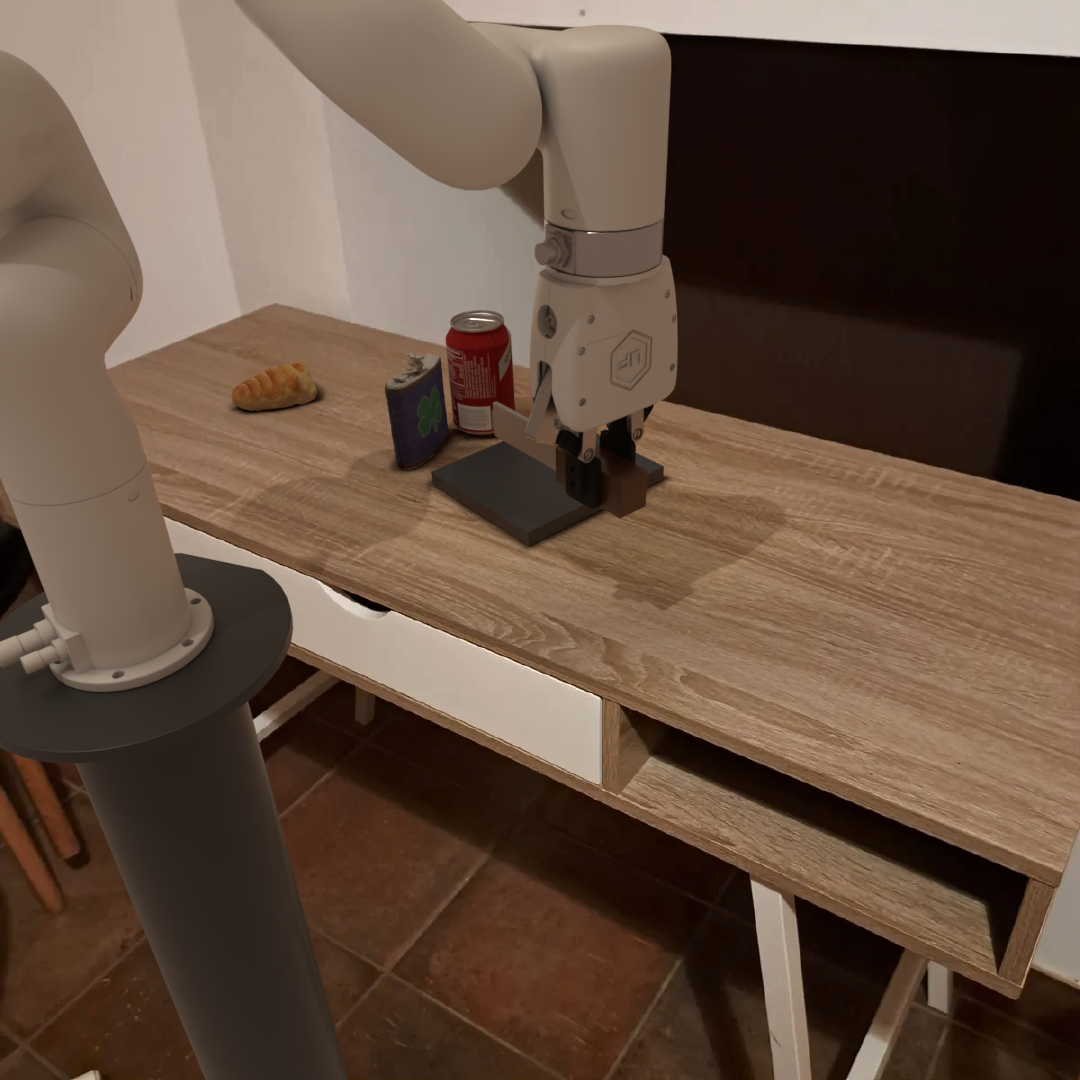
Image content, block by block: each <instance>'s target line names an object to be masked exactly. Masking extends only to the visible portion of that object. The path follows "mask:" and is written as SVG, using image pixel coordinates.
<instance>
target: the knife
mask: <svg viewBox="0 0 1080 1080" xmlns="http://www.w3.org/2000/svg"><path fill="white" fill-rule="evenodd" d="M493 415H494V434H493V435H494V437H495V438H498V439H500V440H501V441H505V442H507V443H508V444H510V445H512V446H514V447H515V448H517V449H519V450H521V451H522V452H524V453H526V454H528V455H529V456H531V457H533V458H535V459H536V460H538V461H540V462H542V463H543V464H545V465H547V466H549V467H551V468H552V469H554V470H556V482H557V483H559V484H561V485H563V486H564V487H566V486H565V452H564V451H562V450H560V449H559V448H558V447H557V446H556V445H555V446H552V445H546V444H540V443H537V442H536V441H534V440H532V439H530V438H528V437H527V436H526V435H525V429H526V426H527V423H528V420H529V417H527V416H525V415H524V414H522V413H520V412H518V411H516V410H515V411H514V410H512V409H510V408H508V407H506V406H505V405H503V404H501V403H499V402H497V401H496V402H493ZM578 438H579V437H578ZM595 457H597V458H599V459H600V460H601V463H602V471H601V502H600V506H599V507H601V508H602V509H603V510H604V511H605V512H607V513H609V514H611V515H613V516H614V517H616V518H618V519H624V518H625V517H627V516H628V515H631V514H633V513H634V512H637V511H640V510H641V509H643V508H645V507H646V506H647V493H648V490H647V489H648V487H647V470H646V469H644V468H642V467H640V466H638V465H637V464H635V463H633V462H631V461H629V460H627V459H625V458H623V457H621V456H619V455H617V454H615V453H613V452H611V451H610V450H608V449H606V448H604V447H602V446H600V445H598V444H596V450H595Z"/></svg>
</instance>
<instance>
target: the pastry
mask: <svg viewBox="0 0 1080 1080" xmlns="http://www.w3.org/2000/svg"><path fill="white" fill-rule="evenodd" d="M316 386H317V385H316V383H315V381H314V378H313V377H312V375H311V373H310V369H309V367H308V365H307V363H305V361H303V360H301V361H300V360H295V361H294V362H293V363H287V364H279V365H276V366H269V367H267V368H265V369H264V371H261V372H259V373H258V374H256V375H255V376H250V377H247V378H246V379H245V380H244V381H242V382H241V383H239V384H237V385H235V386H234V388H233V389H232V391H231V402H232V404H233V405H234V406H236V407H237V408H240V409H242V410H246V411H250V412H253V411H256V412H261V411H263V410H270V411H271V410H275V409H284V408H289V407H293V406H294V405H304V404H307V403H310V402H312V401H313V400H315V399H316V396H317V395H318V389H317V387H316Z"/></svg>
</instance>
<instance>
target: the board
mask: <svg viewBox="0 0 1080 1080" xmlns="http://www.w3.org/2000/svg"><path fill="white" fill-rule="evenodd" d="M555 424H557V425H558V417H556V420H555ZM575 435H576V436H577V437H579V432H576V431H575ZM600 435H601V434H599V433H597V434H596V444H598V445H600ZM635 464H637V465H638V466H640V467H642V468H644V469H646V470H647V488H650V487H651V486H653V485H655V484H657V483H659V482H661V481H663V480H664V477H665V474H664V473H665V466H664V465H662V464H661V463H658V462H656V461H655V460H652V459H650V458H648V457H646V456H645V455H641V454H640V453H638V452H636V460H635ZM430 476H431V484H432V485H433V486H434V487H436V488H437V489H439V490H441V491H442V492H443V493H445V494H447V495H448V496H450V497H451V498H452V499H455V500H456V501H458V502H459V503H461V504H462V505H464V506H465V507H467V508H468V509H470V510H472V511H473V512H475V513H476V514H478V515H479V516H481V517H482V518H484V519H486V520H487V521H489V522H490V523H492V524H494V525H495V526H497V527H498V528H500V529H502V530H503V531H504V532H507V533H508V534H509V535H511V536H512V537H514V538H516V539H517V540H518V541H520V542H522V543H523V544H525V545H527V546H528V547H530V546H533V545H534V544H536V543H539V542H540V541H542V540H545V539H547V538H548V537H550V536H552V535H555V534H556V533H558V532H561V531H563V530H564V529H567V528H569V527H570V526H572V525H575V524H577V523H579V522H580V521H583V520H585V519H587V518H589V517H591V516H593V515H595V514H597V513H599V512H601V511H603V510H604V509H602V508H601V507H597V508H595V509H590V508H589V507H587V506H585V505H583V504H582V503H580V502H578V501H577V500H575V499H573V498H571V497H570V496H568V495H567V493H566V487H564V486H563V485H561V484H559V483H557V482H556V470H554V469H552V468H551V467H549V466H547V465H545V464H543V463H542V462H540V461H538V460H536V459H535V458H533V457H531V456H529V455H528V454H526V453H524V452H522V451H521V450H519V449H517V448H515V447H514V446H512V445H510V444H508V443H507V442H505V441H503V440H501V441H500V442H497V443H495V444H493V445H490V446H488V447H485V448H483V449H481V450H478V451H475V452H474V453H472V454H469V455H467V456H464V457H462V458H459V459H458V460H454V461H452V462H450V463H447V464H445V465H443V466H440V467H438V468H435V469H433V470H431V471H430Z"/></svg>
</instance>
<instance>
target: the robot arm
mask: <svg viewBox="0 0 1080 1080" xmlns="http://www.w3.org/2000/svg"><path fill="white" fill-rule="evenodd" d="M231 1H232V2H233V4H234V6H235V7H236V8H237V9H238V10H239V11H240V13H241V14H242V16H244V18H245V19H247V21H248V22H249V23H250V24H251V25H252V26H254V27H255V28H256V29H257V30H258V31H259V32H260V34H262V35H263V37H265V38H266V39H267V40H268V41H269V42H270V43H271V44H272V45H273V46H274V47H275V48H276V49H277V50H278V51H279V52H280V53H281V54H282V55H283V56H284V58H285V59H286V60H288V61H289V63H290V64H291V65H292V66H293V67H294V68H295V69H296V70H297V71H298V72H299V73H300V74H301V75H303V77H305V79H307V80H308V81H309V82H310V83H311V84H312V85H313V86H314V87H315V88H316V89H317V90H318V91H320V92H321V94H323V95H324V96H325V97H326V98H327V99H329V100H330V101H331V103H333V104H334V105H335V106H336V107H338V108H339V109H340V110H341V111H342V112H344V113H345V114H346V115H348V116H349V117H350V118H351V119H352V120H354V121H355V122H356V123H357V124H358V125H360V126H361V127H362V128H364V129H366V130H367V131H368V132H369V133H371V135H373V136H374V137H376V138H377V139H378V140H379V141H381V142H382V143H383V144H384V145H386V146H387V147H388V148H389V149H391V150H392V151H393V152H395V153H396V154H397V155H398V156H400V157H401V158H402V159H404V160H405V161H406V162H408V163H409V164H411V165H412V166H413V167H414V168H416V169H417V170H419V171H420V172H422V173H423V174H424V175H426V176H427V177H429V178H430V179H433V180H435V181H436V182H439V183H440V184H443V185H446V186H448V187H451V188H453V189H457V190H458V189H459V190H462V191H486V190H490V189H491V190H492V189H494V188H495V189H496V188H497V187H499V186H502V185H505V184H506V183H508V182H509V181H511V180H512V179H514V178H515V177H516V176H517V175H519V174H520V173H521V172H522V171H523V169H525V167H526V166H527V165H528V163H529V162H530V161H531V159H532V157H533V156H534V154H535V151H536V150H537V149H538V150H539V151H540V153H541V155H542V165H543V166H542V167H543V171H542V172H543V216H544V217H543V223H544V224H543V226H544V229H543V231H544V233H543V234H544V235H543V236H544V240H543V241H542V242H539V243H537V244H536V245H535V246H534V251H533V254H534V258H535V260H536V262H537V263H538V264H539V265H540V266H544V269H542V270H540V271H539V273H538V278H537V283H536V289H535V295H534V301H533V308H532V316H531V317H532V318H531V328H530V329H531V330H530V346H529V347H530V348H529V388H530V399H531V403H532V409H531V411H530V415H529V417H528V418H529V420H528V423H527V426H526V429H525V435H526V436H527V437H528V438H530V439H532V440H534V441H536V442H537V443H540V444H546V445H552V446H555V445H556V446H557V447H558V448H559V449H560V450H562V451H564V452H565V486H566V493H567V495H568V496H570V497H571V498H573V499H575V500H577V501H578V502H580V503H582V504H583V505H585V506H587V507H589V508H590V509H595V508H597V507H599V506H600V502H601V471H602V463H601V460H600V459H599V458H597V457H595V450H596V434H598V433H597V432H598V428H601V427H603V426H606V428H605V429H603V430H600V434H599V435H600V446H602V447H604V448H606V449H608V450H610V451H611V452H613V453H615V454H617V455H619V456H621V457H623V458H625V459H627V460H629V461H631V462H633V463H635V460H636V453H637V444H636V443H637V442H639V441H641V439H642V438H643V436H644V434H645V422H646V420H647V419H648V417H649V416H650V414H651V413H652V411H653V409H654V407H655V405H656V404H657V403H659V402H661V401H663V400H665V399H666V398H667V397H668V396H670V395H671V393H672V392H673V391H674V389H675V387H676V384H677V376H678V355H679V354H678V352H679V351H678V349H679V347H678V345H679V344H678V343H679V342H678V339H679V337H678V336H679V335H678V309H677V308H678V307H677V306H678V305H677V295H676V287H675V280H674V274H673V269H672V265H671V261H670V258H669V257H668V256H667V255H664V254H663V253H664V252H663V250H664V233H665V232H664V231H665V210H666V209H665V208H666V207H665V206H666V188H667V170H668V169H667V166H668V147H669V146H668V144H669V126H670V125H669V124H670V105H671V103H670V101H671V81H672V80H671V79H672V55H671V49H670V46H669V43H668V42H667V40H666V38H665V37H664V36H663V35H662V34H660V32H658V31H656V30H653V29H652V28H648V27H644V26H637V25H636V26H635V25H626V24H596V25H595V24H594V25H584V26H583V25H582V26H575V27H571V28H565V29H563V30H553V29H541V28H530V27H523V26H514V25H508V24H499V23H491V22H468V21H467V20H466V19H465V18H463V17H462V16H461V15H460V14H459V13H458V12H457V11H455V10H454V9H453V8H452V7H450V5H448V4H447V3H446V2H445V1H444V0H231ZM143 293H144V275H143V270H142V265H141V262H140V259H139V255H138V252H137V250H136V247H135V245H134V242H133V240H132V238H131V235H130V233H129V231H128V229H127V227H126V224H125V222H124V220H123V218H122V216H121V214H120V211H119V209H118V207H117V205H116V203H115V201H114V198H113V197H112V194H111V193H110V190H109V188H108V186H107V184H106V182H105V180H104V178H103V176H102V173H101V171H100V169H99V167H98V164H97V163H96V160H95V159H94V157H93V154H92V152H91V150H90V148H89V146H88V143H87V142H86V139H85V137H84V135H83V133H82V131H81V129H80V127H79V125H78V123H77V121H76V119H75V117H74V116H73V114H72V112H71V110H70V108H69V107H68V106H67V104H66V102H65V101H64V99H63V97H61V95H60V94H59V93H58V91H57V90H56V89H55V88H54V87H53V85H51V83H50V82H49V81H48V80H47V78H45V76H43V74H41V73H40V72H39V71H38V70H36V69H35V68H34V67H33V66H31V64H29V63H27V62H26V61H25V60H23V59H22V58H20V57H18V56H16V55H14V54H12V53H9V52H7V51H5V50H1V49H0V481H1V483H2V486H3V489H4V491H5V494H6V495H7V497H8V500H9V502H10V505H11V507H12V510H13V513H14V516H15V518H16V520H17V522H18V523H17V524H18V526H19V528H20V530H21V534H22V536H23V539H24V541H25V544H26V546H27V549H28V552H29V554H30V557H31V559H32V563H33V565H34V567H35V570H36V572H37V575H38V578H39V580H40V582H41V585H42V587H43V590H44V591H45V593H46V596H47V598H48V601H49V604H46V605H44V606H42V607H41V608H42V611H43V613H44V616H45V619H44V620H42V621H40V622H37V623H35V624H33V626H34V629H32V630H30V631H28V632H25V633H23V634H20V635H18V636H16V635H15V636H13V637H11V638H8V639H6V640H3V641H1V642H0V665H1V667H2V668H5V667H7V666H10V665H12V664H14V663H17V662H19V661H21V663H22V665H23V667H24V669H25V671H26V673H27V674H30V673H32V672H35V671H37V670H39V669H42V668H44V667H45V666H46V665H49V666H50V669H51V671H52V673H53V674H54V675H55V677H56V678H57V679H58V680H59V681H61V682H62V683H64V684H65V685H67V686H70V687H73V688H75V689H78V690H84V691H90V692H114V691H123V690H128V689H133V688H137V687H141V686H144V685H147V684H150V683H153V682H156V681H158V680H160V679H162V678H165V677H167V676H169V675H171V674H173V673H174V672H176V671H178V670H179V669H181V668H182V667H184V666H186V665H187V664H188V663H189V662H190V661H192V660H193V659H194V658H195V657H196V656H197V655H198V654H199V653H200V652H201V651H202V650H203V649H204V648H205V646H206V645H207V643H208V641H209V640H210V638H211V636H212V633H213V629H214V618H213V614H212V610H211V607H210V605H209V604H208V602H207V600H206V599H205V598H204V597H203V596H201V595H200V594H199V593H197V592H195V591H193V590H191V589H188V588H185V587H184V586H183V582H182V579H181V575H180V572H179V569H178V565H177V562H176V558H175V555H174V553H175V551H174V548H173V545H172V542H171V537H170V534H169V531H168V528H167V524H166V520H165V517H164V513H163V510H162V506H161V503H160V500H159V496H158V493H157V490H156V489H157V488H156V486H155V483H154V479H153V476H152V472H151V467H150V465H149V462H148V461H149V460H148V458H147V454H146V453H145V449H144V446H143V443H142V440H141V436H140V432H139V429H138V427H137V425H136V422H135V419H134V417H133V413H132V412H131V410H130V409H129V407H128V404H127V403H126V401H125V399H124V398H123V396H122V394H121V393H120V392H119V391H118V389H117V387H116V385H115V384H114V382H113V380H112V378H111V376H110V374H109V372H108V369H107V365H106V361H105V359H106V358H105V357H106V353H107V352H108V351H109V350H110V348H111V347H112V346H113V344H114V343H115V341H116V340H117V339H118V337H120V335H121V334H122V333H123V332H124V330H125V329H126V328H127V326H128V325H129V324H130V323H131V322H132V320H133V318H134V316H135V315H136V314H137V311H138V310H139V308H140V304H141V302H142V299H143ZM557 418H558V425H557V424H555V420H556V419H557ZM575 431H576V432H579V438H578V437H577V436H576V435H575ZM44 591H43V592H44Z"/></svg>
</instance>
